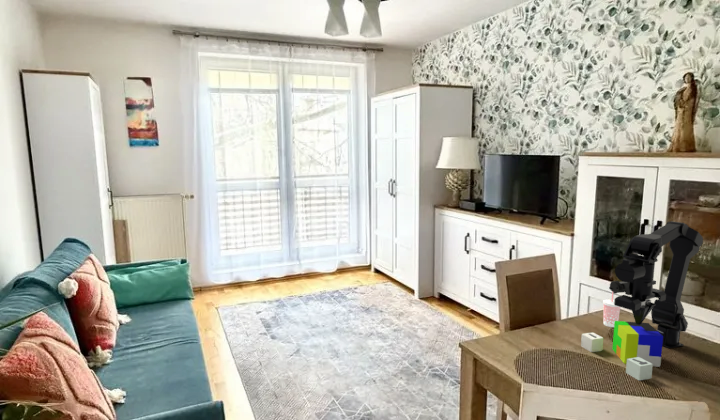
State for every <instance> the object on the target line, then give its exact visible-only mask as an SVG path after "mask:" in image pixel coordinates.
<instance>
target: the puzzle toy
mask: <svg viewBox="0 0 720 420" xmlns="http://www.w3.org/2000/svg"><path fill="white" fill-rule="evenodd" d="M662 343H663V336H662V335H661V334H660V333H659V332H658V331H657V328H654V326H652V325H651V324H650V323H649V322H642V323H641V324H640V325H638V324H636V322H635V321H621V320H618V321H615V323H614V327H613V337H612V348H611V349H612V350H613V352H614V353H615V355H616V356H617V357H618V358H619V359H620V360H621V362H623V364H624V365H626V364H627V359H630V358H636V357H640V358H642V359H644V360H646V361H648V362H650V363H651V364H653V367H657V368H658V367H659V368H660V367H661V363H662V354H663V353H662V352H663V345H662Z"/></svg>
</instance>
